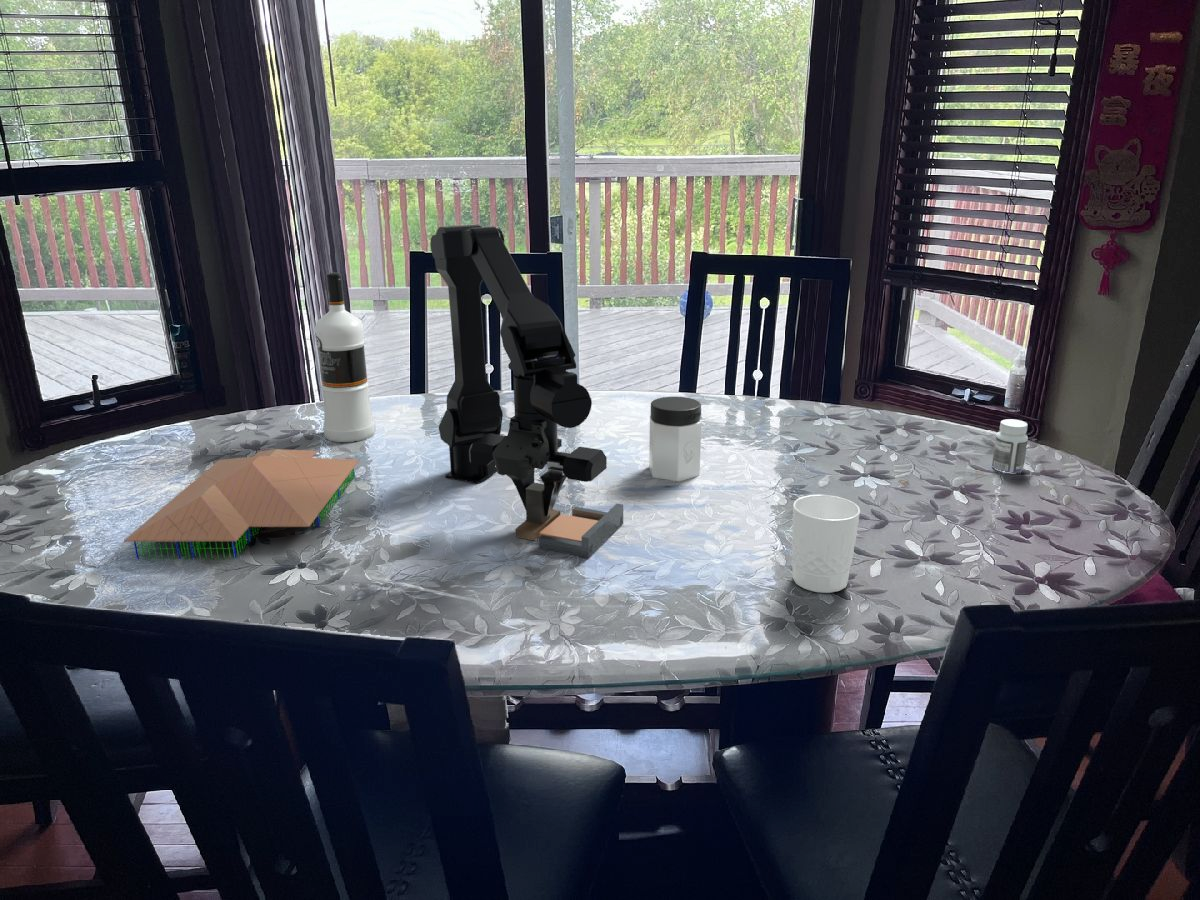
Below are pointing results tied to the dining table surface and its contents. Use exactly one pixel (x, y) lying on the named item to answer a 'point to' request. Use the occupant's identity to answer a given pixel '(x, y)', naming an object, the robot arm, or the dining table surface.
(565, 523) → the tile
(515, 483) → the robot arm
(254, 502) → the house
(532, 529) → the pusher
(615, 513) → the grey u-shaped frame
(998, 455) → the pill bottle
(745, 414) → the dining table surface
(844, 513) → the white cup
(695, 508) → the dining table surface
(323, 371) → the vodka
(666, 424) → the jar
